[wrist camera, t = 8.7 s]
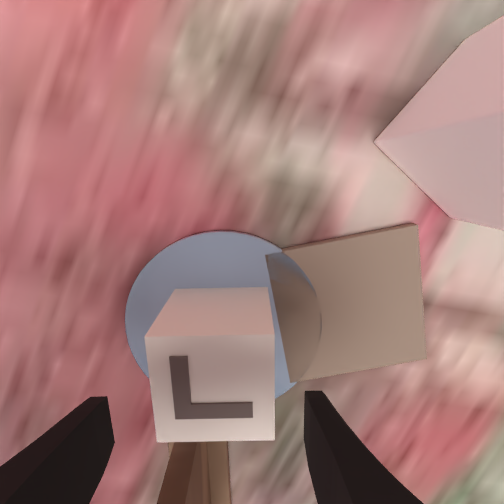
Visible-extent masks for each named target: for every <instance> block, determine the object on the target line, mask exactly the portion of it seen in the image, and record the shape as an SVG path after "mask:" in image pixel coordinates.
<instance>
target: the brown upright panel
mask: <svg viewBox="0 0 504 504" xmlns="http://www.w3.org/2000/svg"><path fill="white" fill-rule="evenodd" d="M168 448H169V457H170V459H169V462H168V466H167V469H166V473H165V476H164V480H163V484H162V487H161V491H160V494H159V498H158V501H157V504H231V492H230V474H229V456H228V441H205V442H168Z"/></svg>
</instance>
